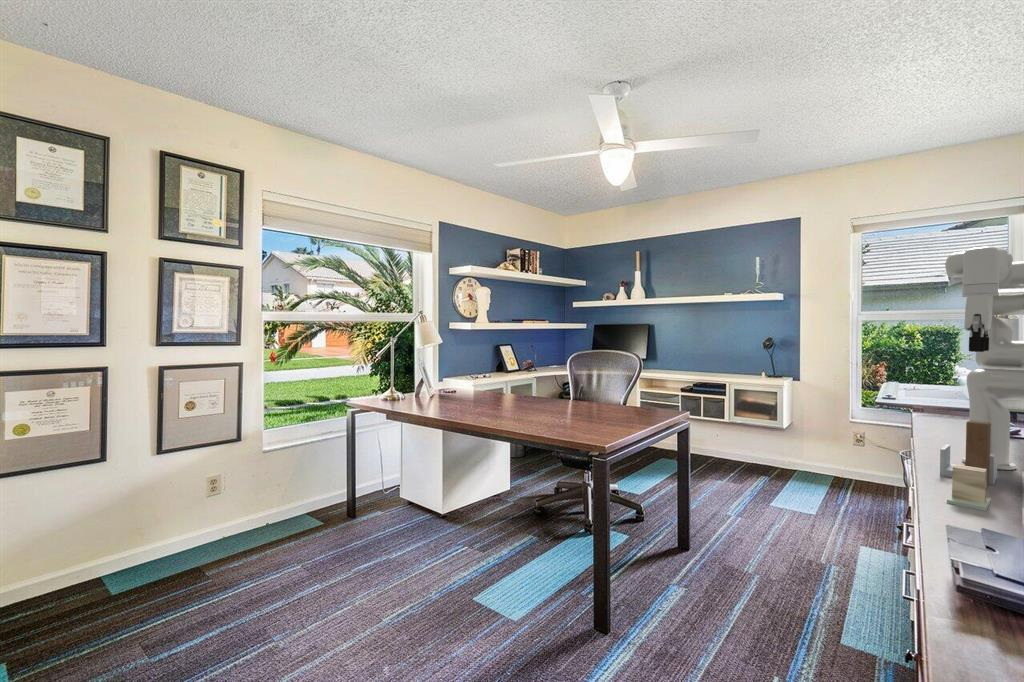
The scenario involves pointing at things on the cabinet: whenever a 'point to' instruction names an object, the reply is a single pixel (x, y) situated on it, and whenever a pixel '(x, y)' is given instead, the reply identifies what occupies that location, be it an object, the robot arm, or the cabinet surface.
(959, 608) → the cabinet surface
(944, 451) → the slot guard
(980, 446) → the wooden block
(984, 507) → the mat
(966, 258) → the robot arm
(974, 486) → the beech block
